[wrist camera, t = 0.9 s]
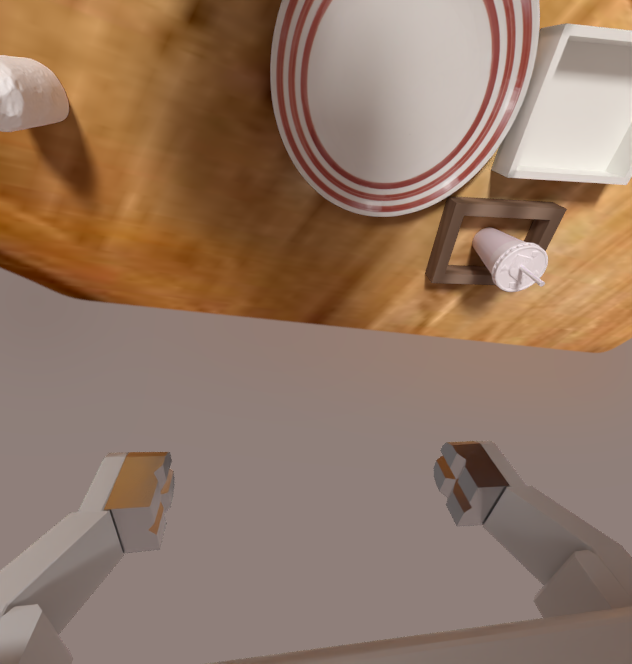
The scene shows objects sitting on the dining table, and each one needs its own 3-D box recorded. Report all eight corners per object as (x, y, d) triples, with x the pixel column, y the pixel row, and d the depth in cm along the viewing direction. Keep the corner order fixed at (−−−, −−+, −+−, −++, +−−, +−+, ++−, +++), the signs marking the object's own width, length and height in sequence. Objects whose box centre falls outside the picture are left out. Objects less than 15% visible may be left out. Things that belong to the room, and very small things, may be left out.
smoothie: (503, 208, 46) (570, 250, 35) (511, 246, 50) (575, 295, 39) (457, 232, 48) (508, 279, 37) (469, 267, 52) (518, 320, 40)
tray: (491, 170, 43) (507, 177, 40) (540, 28, 35) (565, 23, 32) (602, 177, 45) (626, 184, 41) (675, 42, 36) (712, 39, 33)
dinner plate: (520, 165, 43) (535, 170, 41) (320, 239, 48) (322, 249, 45) (527, -184, 27) (552, -212, 25) (223, -24, 32) (217, -33, 29)
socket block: (425, 273, 52) (431, 283, 49) (447, 196, 45) (456, 203, 43) (516, 276, 53) (527, 285, 51) (552, 202, 46) (566, 209, 44)
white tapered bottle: (-113, 87, 25) (-87, 24, 24) (-4, 84, 35) (22, 39, 33) (-24, 155, 28) (7, 104, 27) (55, 135, 38) (81, 97, 36)
